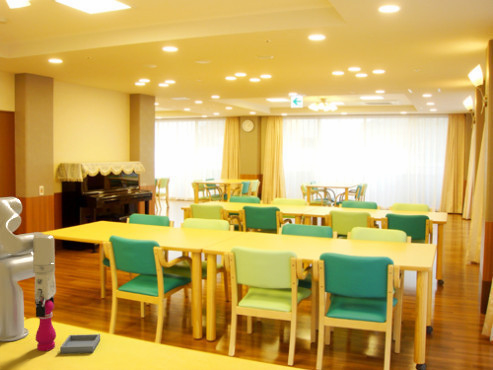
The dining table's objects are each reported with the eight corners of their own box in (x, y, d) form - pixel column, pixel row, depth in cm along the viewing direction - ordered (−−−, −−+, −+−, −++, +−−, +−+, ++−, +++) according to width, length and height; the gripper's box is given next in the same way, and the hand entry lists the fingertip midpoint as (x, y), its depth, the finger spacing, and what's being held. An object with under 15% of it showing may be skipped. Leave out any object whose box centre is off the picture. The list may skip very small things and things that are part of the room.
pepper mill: (48, 342, 185) (47, 292, 184) (60, 346, 182) (59, 295, 180) (31, 349, 179) (30, 297, 178) (43, 353, 175) (42, 300, 174)
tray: (60, 353, 175) (60, 347, 175) (69, 341, 187) (69, 335, 187) (93, 352, 176) (92, 346, 176) (100, 340, 188) (100, 334, 188)
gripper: (46, 273, 170) (47, 320, 171) (61, 262, 187) (62, 304, 188) (25, 273, 169) (26, 320, 171) (42, 262, 187) (43, 305, 188)
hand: (45, 312), depth 180 cm, fingers open, 9 cm apart
